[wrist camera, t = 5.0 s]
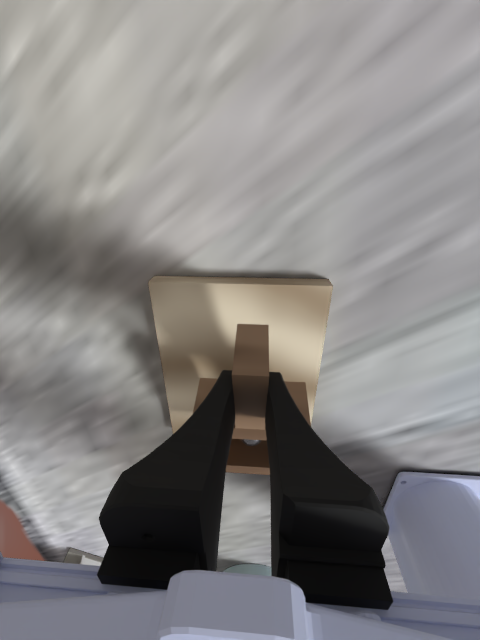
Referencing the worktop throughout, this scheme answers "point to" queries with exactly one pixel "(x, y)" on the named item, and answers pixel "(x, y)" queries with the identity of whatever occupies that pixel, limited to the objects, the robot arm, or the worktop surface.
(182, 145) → the worktop surface
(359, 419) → the worktop surface
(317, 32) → the worktop surface
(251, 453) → the walnut link
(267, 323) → the birch board
